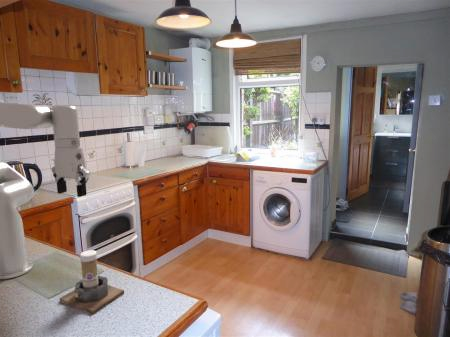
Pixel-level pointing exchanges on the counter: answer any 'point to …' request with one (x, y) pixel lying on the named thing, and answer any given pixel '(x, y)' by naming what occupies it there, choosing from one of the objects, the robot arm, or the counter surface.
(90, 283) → the sprinkles bottle
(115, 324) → the counter surface
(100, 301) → the walnut board
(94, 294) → the socket
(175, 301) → the counter surface
